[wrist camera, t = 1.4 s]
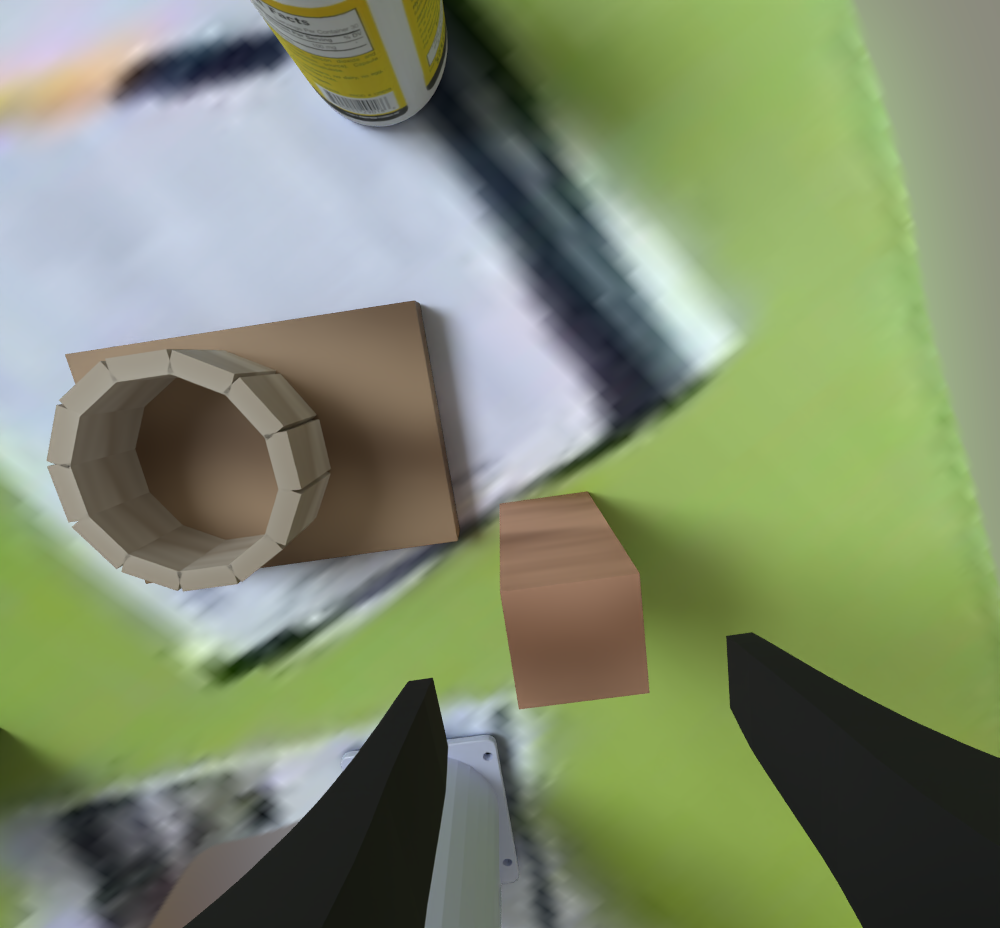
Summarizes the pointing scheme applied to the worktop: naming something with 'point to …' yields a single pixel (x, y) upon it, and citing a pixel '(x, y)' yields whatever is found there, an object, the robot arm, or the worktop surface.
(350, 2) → the supplement bottle
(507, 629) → the peg
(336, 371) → the caddy board
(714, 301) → the worktop surface
